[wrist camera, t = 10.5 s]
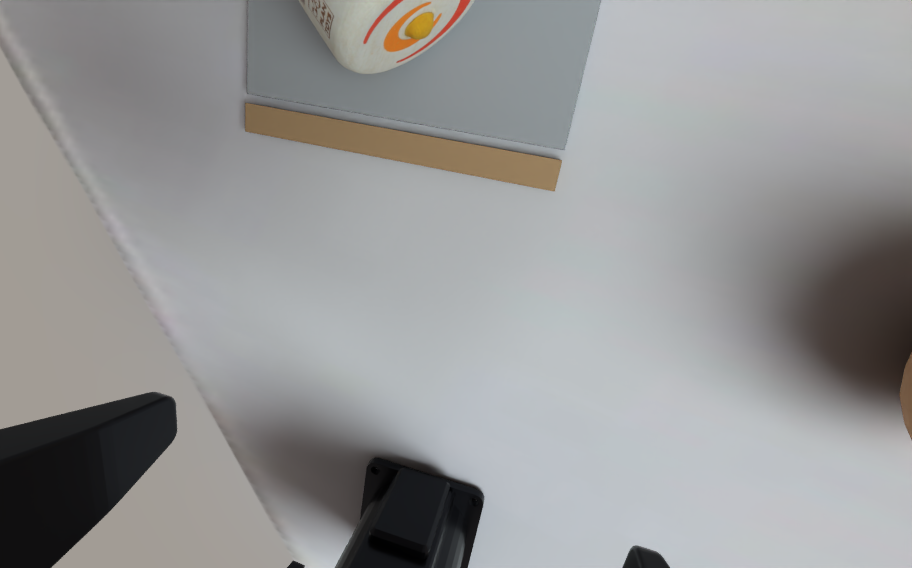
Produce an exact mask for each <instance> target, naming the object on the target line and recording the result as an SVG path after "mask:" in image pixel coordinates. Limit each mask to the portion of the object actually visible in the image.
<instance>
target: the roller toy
mask: <svg viewBox="0 0 912 568" xmlns="http://www.w3.org/2000/svg"><path fill="white" fill-rule="evenodd" d="M474 1H475V0H299V2H300V4H301V5H302V7H303V9H304V10H305V12H306V14H307V15H308V17H309V18H310V20H311V21H312V23H313V25H314V26H315V28H316V29H317V31H318V32H319V34H320V35H321V37H322V38H323V40H324V41H325V43H326V44H327V46H328V47H329V49H330V51H331V52H332V54H333V55H334V57H335V58H336V60H337V61H338V62H339V63H340V64H341V65H342V66H343V67H345V68H347V69H349V70H351V71H353V72H356V73H360V74H375V73H381V72H384V71H388V70H391V69H393V68H396V67H398V66H400V65H403V64H405V63H407V62H408V61H410V60H412V59H414V58H415V57H417V56H419V55H420V54H422V53H423V52H425V51H426V50H428V49H429V48H430V47H432V46H433V45H434V44H436V43H437V42H438V41H439V40H441V39H442V38H443V37H444V36H445V35H446V34H447V33H448V32H449V31H450V30H451V29H452V28H453V27H454V26H455V25H456V24H457V23H458V22H459V21H460V20H461V19H462V18H463V16H464V15H465V14H466V13H467V11H468V10H469V9H470V7H471V6H472V4H473V3H474Z"/></svg>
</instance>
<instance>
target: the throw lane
mask: <svg viewBox="0 0 912 568" xmlns="http://www.w3.org/2000/svg"><path fill="white" fill-rule="evenodd" d="M600 3H601V0H475V1H474V3H473V4H472V6H471V7H470V9H469V10H468V11H467V13H466V14H465V15H464V16H463V18H462V19H461V20H460V21H459V22H458V23H457V24H456V25H455V26H454V27H453V28H452V29H451V30H450V31H449V32H448V33H447V34H446V35H445V36H444V37H443V38H442V39H441V40H439V41H438V42H437V43H436V44H434V45H433V46H432V47H430V48H429V49H428V50H426V51H425V52H423V53H422V54H420V55H419V56H417V57H415V58H414V59H412V60H410V61H408V62H407V63H405V64H403V65H400V66H398V67H396V68H393V69H391V70H388V71H384V72H381V73H375V74H360V73H356V72H353V71H351V70H349V69H347V68H345V67H343V66H342V65H341V64H340V63H339V62H338V61H337V60H336V58H335V57H334V55H333V54H332V52H331V51H330V49H329V47H328V46H327V44H326V43H325V41H324V40H323V38H322V37H321V35H320V34H319V32H318V31H317V29H316V28H315V26H314V25H313V23H312V21H311V20H310V18H309V17H308V15H307V14H306V12H305V10H304V9H303V7H302V5H301V4H300V2H299V0H248V34H247V93H248V94H253V95H258V96H264V97H269V98H275V99H281V100H286V101H292V102H297V103H303V104H309V105H314V106H320V107H326V108H331V109H337V110H342V111H348V112H354V113H359V114H365V115H371V116H376V117H382V118H387V119H393V120H399V121H404V122H410V123H415V124H421V125H427V126H432V127H438V128H444V129H449V130H455V131H460V132H466V133H472V134H477V135H483V136H488V137H494V138H500V139H505V140H511V141H517V142H522V143H528V144H533V145H539V146H545V147H550V148H556V149H561V150H565V146H566V142H567V138H568V134H569V130H570V126H571V122H572V118H573V114H574V110H575V105H576V101H577V97H578V93H579V89H580V85H581V81H582V77H583V73H584V69H585V64H586V60H587V56H588V52H589V48H590V44H591V40H592V36H593V32H594V28H595V23H596V19H597V15H598V11H599V7H600ZM245 131H246V132H252V133H257V134H262V135H267V136H272V137H277V138H282V139H288V140H293V141H298V142H303V143H308V144H313V145H318V146H324V147H329V148H334V149H339V150H344V151H349V152H354V153H360V154H365V155H370V156H375V157H380V158H385V159H390V160H396V161H401V162H406V163H411V164H416V165H421V166H426V167H432V168H437V169H442V170H447V171H452V172H457V173H462V174H468V175H473V176H478V177H483V178H488V179H493V180H498V181H504V182H509V183H514V184H519V185H524V186H529V187H534V188H540V189H545V190H550V191H555V188H556V184H557V179H558V175H559V171H560V167H561V163H562V160H557V159H551V158H546V157H540V156H535V155H529V154H524V153H518V152H513V151H507V150H502V149H496V148H491V147H486V146H480V145H475V144H469V143H464V142H458V141H453V140H447V139H442V138H436V137H431V136H425V135H420V134H414V133H409V132H403V131H398V130H392V129H387V128H381V127H376V126H370V125H365V124H359V123H354V122H348V121H343V120H337V119H332V118H326V117H321V116H315V115H310V114H304V113H299V112H293V111H288V110H282V109H277V108H271V107H266V106H260V105H255V104H249V103H245Z"/></svg>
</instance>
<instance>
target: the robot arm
mask: <svg viewBox="0 0 912 568" xmlns="http://www.w3.org/2000/svg"><path fill="white" fill-rule="evenodd" d="M176 433H177V417H176V403H175V400H174V399H173V398H172V397H170V396H167V395H164V394H161V393H157V392H150V393H145V394H141V395H137V396H134V397H129V398H125V399H121V400H117V401H113V402H109V403H105V404H101V405H97V406H93V407H89V408H85V409H81V410H77V411H73V412H69V413H65V414H61V415H57V416H53V417H48V418H45V419H40V420H37V421H33V422H29V423H24V424H20V425H16V426H12V427H8V428H4V429H0V568H51V567H52V566H53V565H54V564H55V563H56V562H58V561H59V560H60V559H61V557H63V555H65V554H66V553H67V552H68V551H69V550H70V549H71V548H72V547H73V546H74V545H75V544H76V543H77V542H79V540H81V539H82V538H83V537H84V536H85V535H86V534H87V533H88V532H89V531H90V530H91V529H92V528H93V527H94V526H95V525H96V524H97V523H98V522H99V521H100V520H101V519H102V518H103V517H104V516H105V515H106V514H107V513H108V512H109V511H110V510H111V509H112V508H113V507H114V506H115V505H116V504H117V503H118V502H119V501H120V500H121V499H122V498H123V496H124V495H125V494H126V493H127V492H128V491H129V490H130V489H131V487H132V486H133V485H134V484H135V483H136V482H137V481H138V480H139V478H140V477H141V476H142V475H143V474H144V473H145V471H147V470H148V468H149V467H150V466H151V465H152V464H153V463H154V462H155V461H156V459H158V457H159V456H160V455H161V454H162V453H163V452H164V451H165V450H166V449H167V447H168V446H169V445H170V444H171V443H172V441H173V440H174V438H175V436H176ZM375 467H377V468H378V469H376V468H375ZM472 498H474V499H476V500H477V501H476V500H473V499H472ZM483 503H484V495H483V493H482V492H481V491H479V490H477V489H474V488H471V487H468V486H465V485H462V484H459V483H455V482H452V481H449V480H446V479H443V478H440V477H437V476H433V475H430V474H427V473H424V472H421V471H418V470H414V469H411V468H408V467H405V466H402V465H399V464H395V463H392V462H389V461H386V460H383V459H380V458H373V459H372V460H371V461H370V462H369V464H368V466H367V470H366V478H365V486H364V493H363V501H362V509H361V517H360V522H359V524H358V525H357V527H356V529H355V531H354V533H353V535H352V537H351V538H350V540H349V542H348V544H347V546H346V548H345V550H344V551H343V553H342V555H341V557H340V559H339V561H338V563H337V564H336V566H335V568H468V564H469V560H470V556H471V552H472V548H473V544H474V540H475V536H476V532H477V528H478V524H479V520H480V516H481V512H482V508H483ZM304 567H305V565H302V564H300V563H298V562H295V561H292V563H291V564H290V565H289V566H288V567H287V568H304ZM623 568H670V567H669V565H668V564H667V562H666V561H665V560H664V558H663V557H662V556H661V555H660V554H659V553H658V552H656V551H653V550H650V549H647V548H644V547H641V546H633V547H632V548H631V549H630V551H629V553H628V556H627V558H626V560H625V563H624V565H623Z"/></svg>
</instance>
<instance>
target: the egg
mask: <svg viewBox="0 0 912 568" xmlns="http://www.w3.org/2000/svg"><path fill="white" fill-rule="evenodd" d="M899 396H900V401H901V407H902V413H903V418H904V423H905V426H906V428H907V430H908V432H909V435H910V437H911V439H912V352H911V355H910V357H909V359H908V361H907V363H906V365H905V369H904V374H903V379H902V384H901V389H900V394H899Z"/></svg>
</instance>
